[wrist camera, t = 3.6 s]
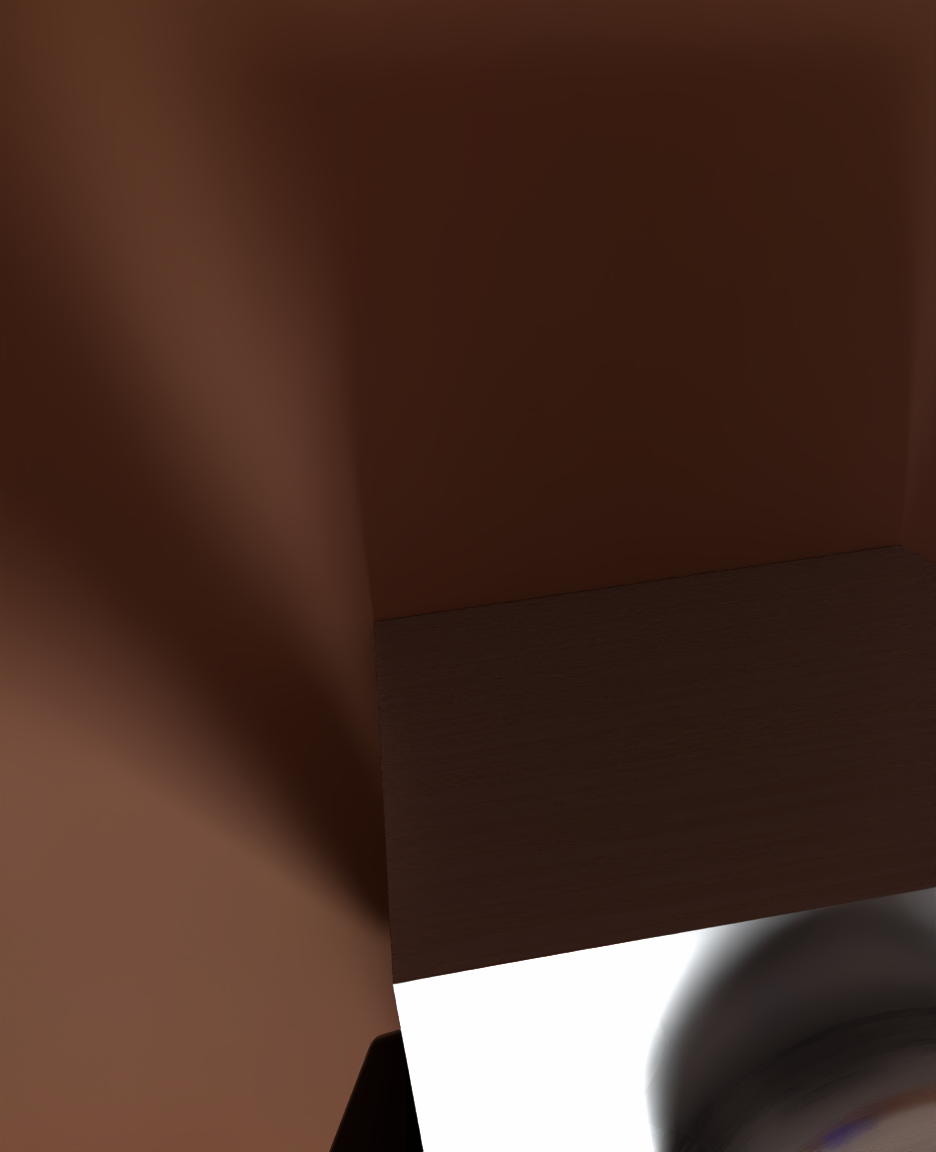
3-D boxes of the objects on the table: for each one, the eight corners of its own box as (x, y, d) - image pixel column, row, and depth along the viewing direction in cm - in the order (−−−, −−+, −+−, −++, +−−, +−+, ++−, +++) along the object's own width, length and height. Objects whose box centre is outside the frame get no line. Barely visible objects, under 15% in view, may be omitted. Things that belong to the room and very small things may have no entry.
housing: (464, 1191, 11) (543, 1865, 6) (373, 621, 8) (401, 1154, 3) (844, 1116, 11) (1169, 1702, 7) (901, 545, 8) (1575, 930, 4)
